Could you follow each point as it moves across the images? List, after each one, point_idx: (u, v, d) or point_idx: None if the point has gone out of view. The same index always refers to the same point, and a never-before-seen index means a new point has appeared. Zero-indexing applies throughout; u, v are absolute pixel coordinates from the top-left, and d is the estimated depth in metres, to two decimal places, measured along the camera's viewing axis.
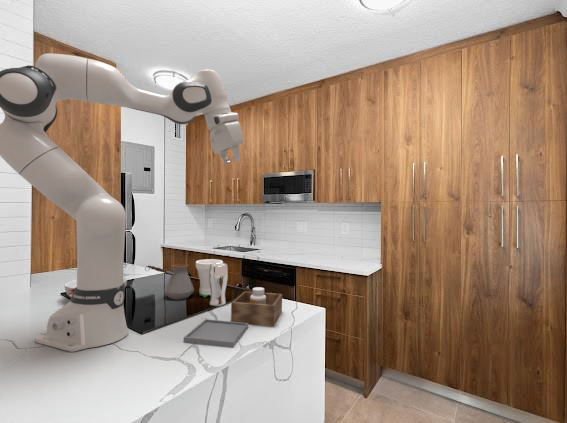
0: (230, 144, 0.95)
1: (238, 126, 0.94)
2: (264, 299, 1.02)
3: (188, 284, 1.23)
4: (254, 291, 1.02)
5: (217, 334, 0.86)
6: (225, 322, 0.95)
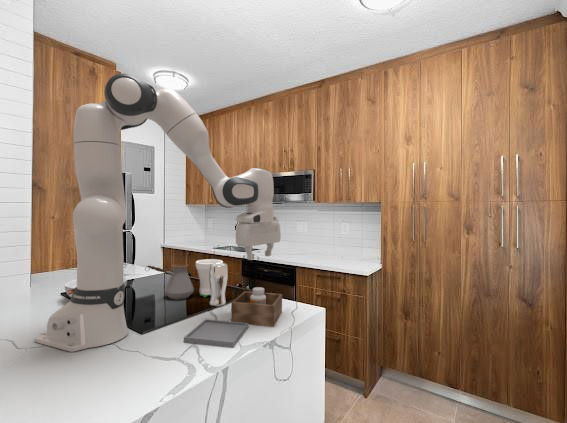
0: None
1: (244, 230, 0.94)
2: (264, 299, 1.02)
3: (188, 284, 1.23)
4: (254, 291, 1.02)
5: (217, 334, 0.86)
6: (225, 322, 0.95)
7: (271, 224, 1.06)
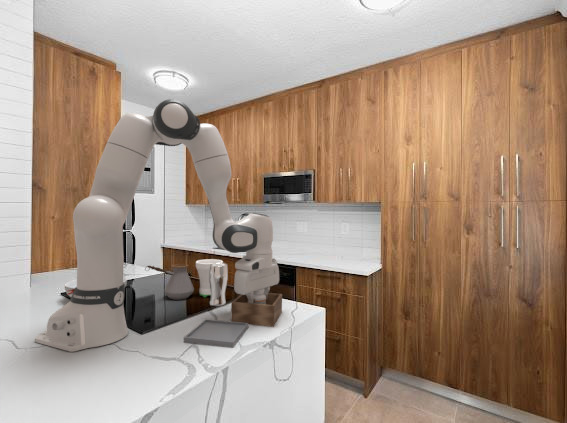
0: None
1: (243, 278, 0.94)
2: (264, 299, 1.02)
3: (188, 284, 1.23)
4: (254, 291, 1.02)
5: (217, 334, 0.86)
6: (225, 322, 0.95)
7: (270, 268, 1.06)
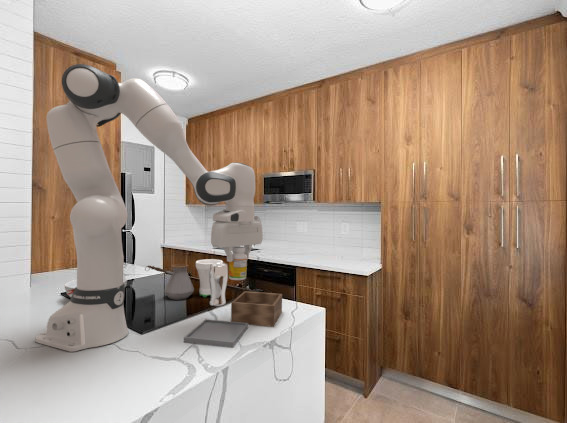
0: None
1: (220, 229, 0.86)
2: (244, 258, 0.94)
3: (188, 284, 1.23)
4: (234, 249, 0.94)
5: (217, 334, 0.86)
6: (225, 322, 0.95)
7: (252, 224, 0.97)
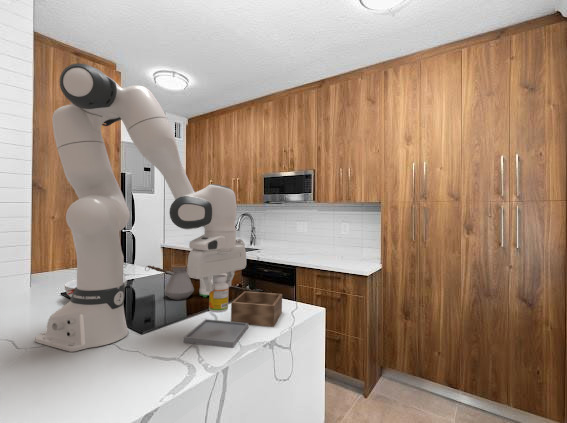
0: None
1: (197, 259, 0.79)
2: (226, 288, 0.87)
3: (188, 284, 1.23)
4: (214, 279, 0.87)
5: (217, 334, 0.86)
6: (225, 322, 0.95)
7: (234, 249, 0.91)
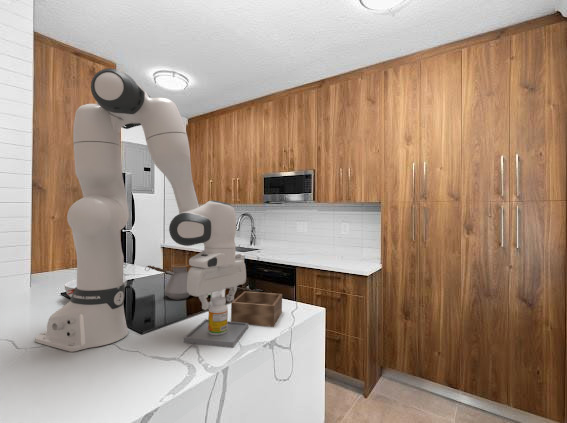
0: None
1: (196, 277, 0.79)
2: (225, 311, 0.87)
3: None
4: (213, 301, 0.87)
5: None
6: None
7: (233, 265, 0.91)
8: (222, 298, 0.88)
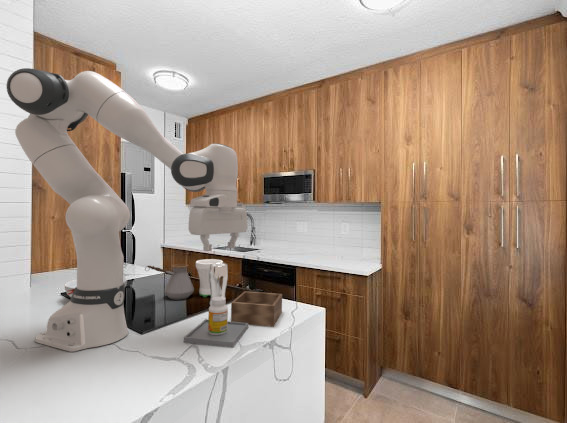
0: None
1: (198, 215, 0.79)
2: (225, 311, 0.87)
3: (188, 284, 1.23)
4: (213, 301, 0.87)
5: None
6: None
7: (235, 210, 0.91)
8: (222, 298, 0.88)
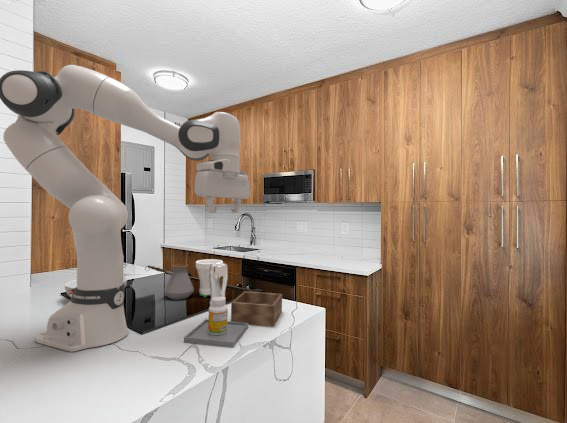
0: None
1: (204, 177, 0.84)
2: (225, 311, 0.87)
3: (188, 284, 1.23)
4: (213, 301, 0.87)
5: None
6: None
7: (238, 177, 0.96)
8: (222, 298, 0.88)
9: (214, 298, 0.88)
